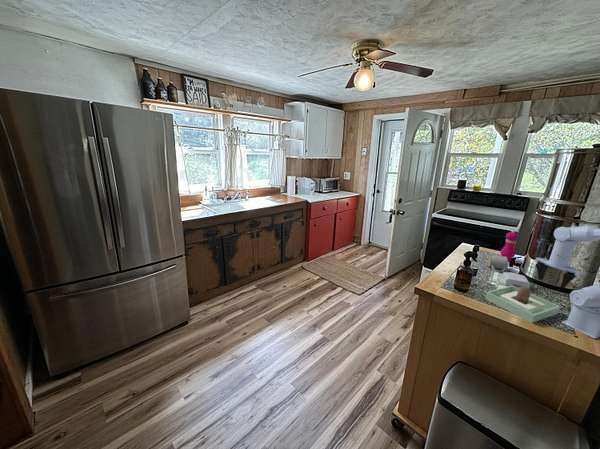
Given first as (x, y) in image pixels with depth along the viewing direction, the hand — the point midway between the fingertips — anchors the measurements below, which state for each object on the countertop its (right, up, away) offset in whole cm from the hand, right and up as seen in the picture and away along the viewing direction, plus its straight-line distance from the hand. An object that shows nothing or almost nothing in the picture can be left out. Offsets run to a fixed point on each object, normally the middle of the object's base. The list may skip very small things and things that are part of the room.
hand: (551, 283), depth 108 cm
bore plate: (-13, -10, 0) cm, 17 cm away
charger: (+2, -5, +22) cm, 22 cm away
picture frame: (-13, -10, +1) cm, 17 cm away
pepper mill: (+21, +3, +50) cm, 54 cm away
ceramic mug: (+6, -1, +37) cm, 37 cm away
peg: (-13, -10, 0) cm, 16 cm away
